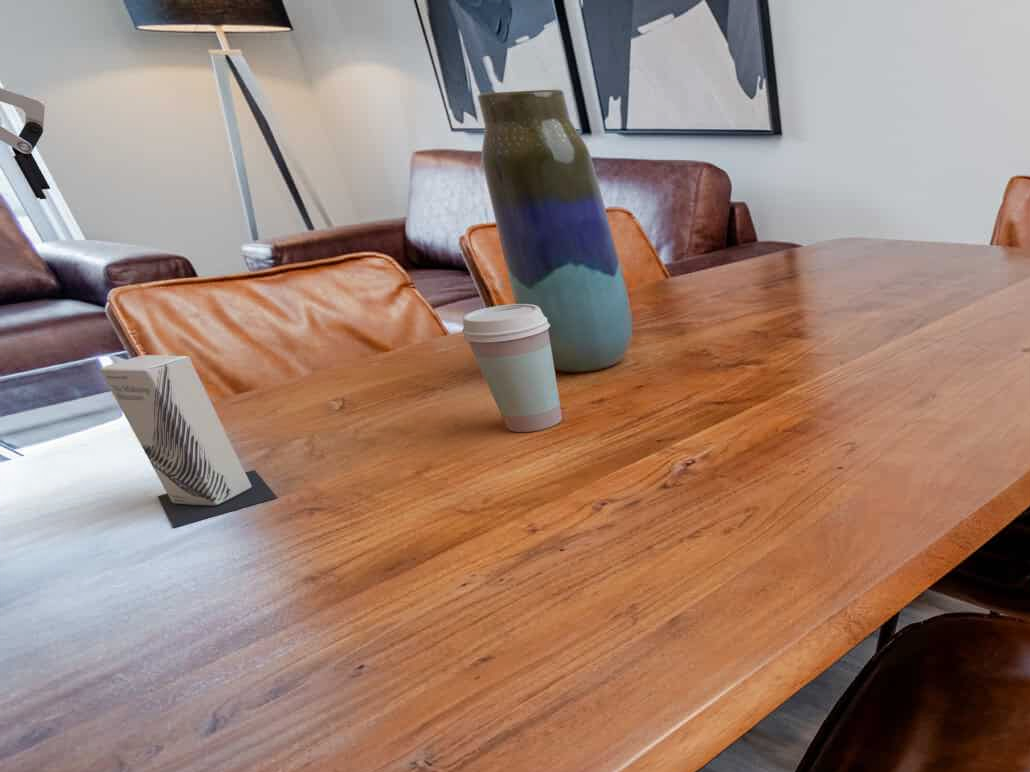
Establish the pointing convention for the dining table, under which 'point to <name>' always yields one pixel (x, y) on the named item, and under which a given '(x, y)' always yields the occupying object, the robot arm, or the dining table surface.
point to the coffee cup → (516, 363)
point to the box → (177, 428)
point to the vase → (555, 227)
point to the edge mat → (193, 513)
